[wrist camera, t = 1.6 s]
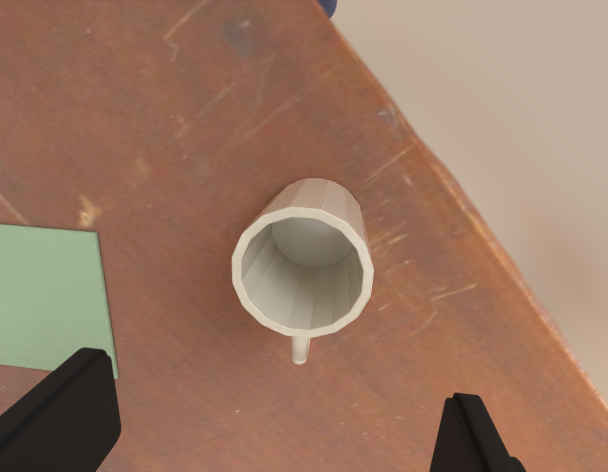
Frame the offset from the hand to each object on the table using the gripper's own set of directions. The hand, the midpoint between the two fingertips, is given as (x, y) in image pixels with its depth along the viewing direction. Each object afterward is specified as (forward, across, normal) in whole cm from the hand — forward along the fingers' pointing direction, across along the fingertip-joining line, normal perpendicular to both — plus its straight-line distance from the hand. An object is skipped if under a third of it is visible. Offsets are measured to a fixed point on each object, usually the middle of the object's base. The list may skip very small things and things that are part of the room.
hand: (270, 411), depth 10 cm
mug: (+17, 0, +1) cm, 17 cm away
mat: (+17, +24, +8) cm, 31 cm away
